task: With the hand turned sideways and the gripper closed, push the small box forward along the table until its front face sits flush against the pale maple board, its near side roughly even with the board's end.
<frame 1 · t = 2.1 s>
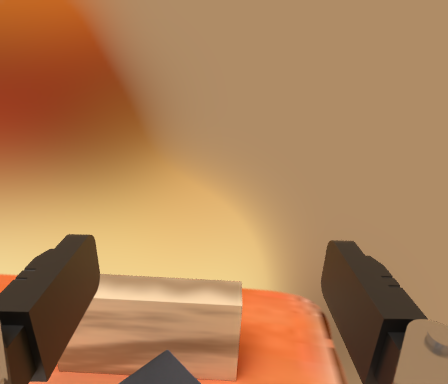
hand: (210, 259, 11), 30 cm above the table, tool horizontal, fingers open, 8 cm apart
maple board: (151, 361, 40), on the table
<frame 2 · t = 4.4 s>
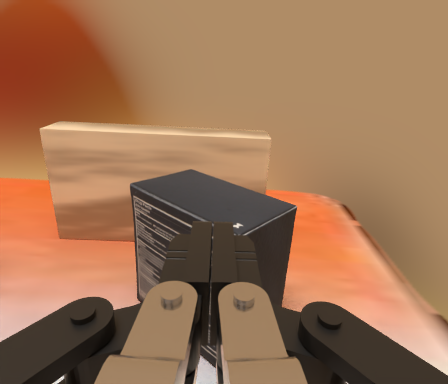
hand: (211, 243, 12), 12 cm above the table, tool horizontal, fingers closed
maple board: (163, 232, 36), on the table
small box: (206, 313, 25), on the table
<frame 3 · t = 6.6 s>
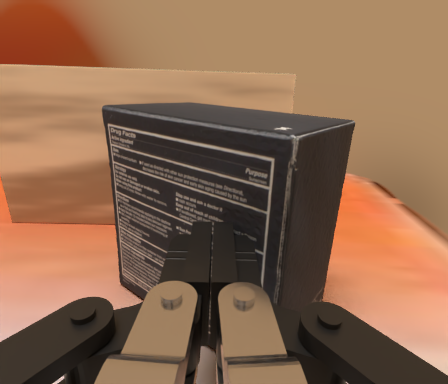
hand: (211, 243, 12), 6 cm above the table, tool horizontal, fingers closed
maple board: (152, 214, 27), on the table
small box: (217, 297, 18), on the table
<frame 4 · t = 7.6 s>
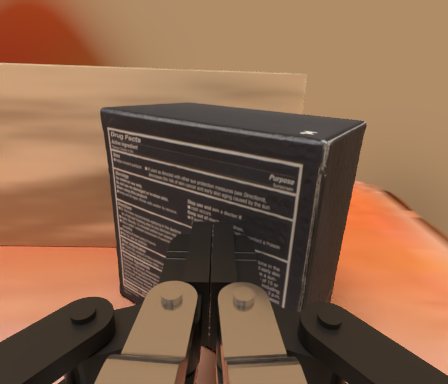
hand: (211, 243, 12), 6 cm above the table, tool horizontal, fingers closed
maple board: (140, 233, 24), on the table
small box: (224, 303, 18), on the table, touching gripper, maple board
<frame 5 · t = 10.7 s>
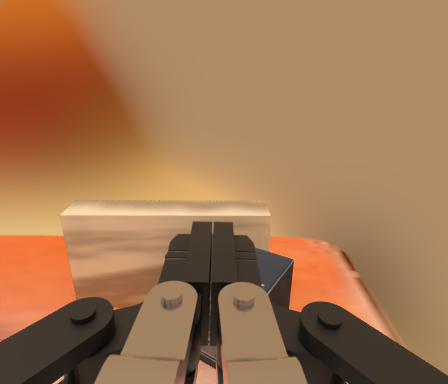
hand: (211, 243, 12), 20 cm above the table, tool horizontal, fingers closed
maple board: (174, 295, 38), on the table
small box: (228, 344, 32), on the table, touching maple board
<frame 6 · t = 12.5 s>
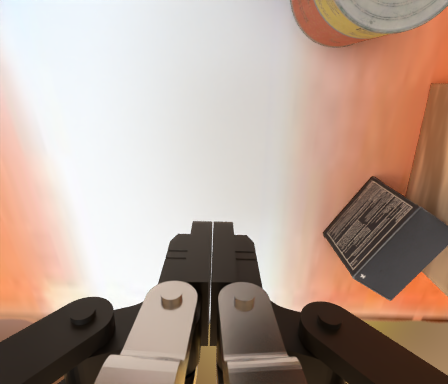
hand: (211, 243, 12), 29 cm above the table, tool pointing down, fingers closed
maple board: (426, 171, 41), on the table
small box: (362, 216, 43), on the table, touching maple board
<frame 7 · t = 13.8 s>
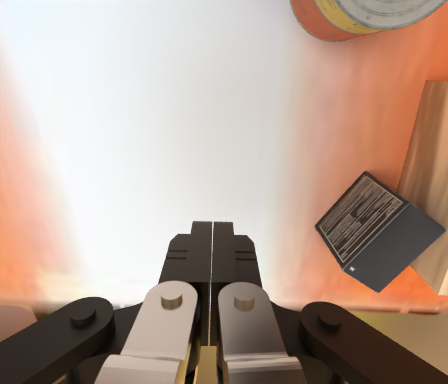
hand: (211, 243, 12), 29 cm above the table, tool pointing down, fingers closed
maple board: (417, 168, 41), on the table
small box: (354, 210, 44), on the table, touching maple board
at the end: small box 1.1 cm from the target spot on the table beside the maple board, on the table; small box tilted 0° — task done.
